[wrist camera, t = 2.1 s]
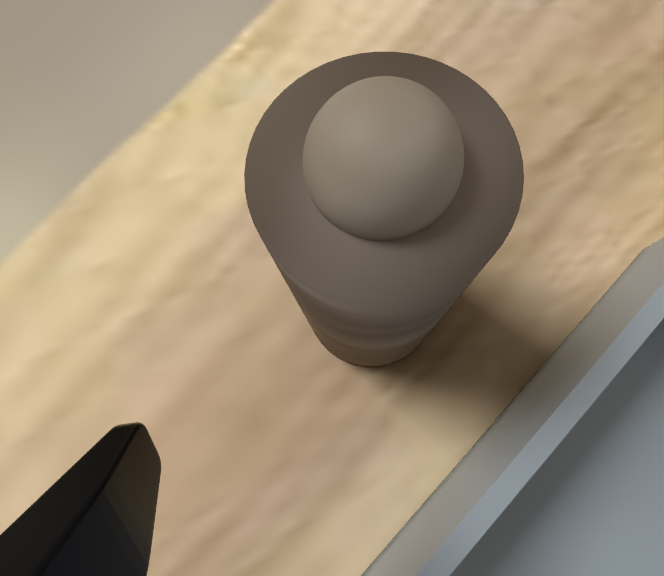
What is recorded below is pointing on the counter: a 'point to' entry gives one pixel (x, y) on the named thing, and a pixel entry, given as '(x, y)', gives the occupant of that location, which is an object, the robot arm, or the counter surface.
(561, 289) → the counter surface
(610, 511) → the tote
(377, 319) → the pepper mill
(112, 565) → the robot arm
